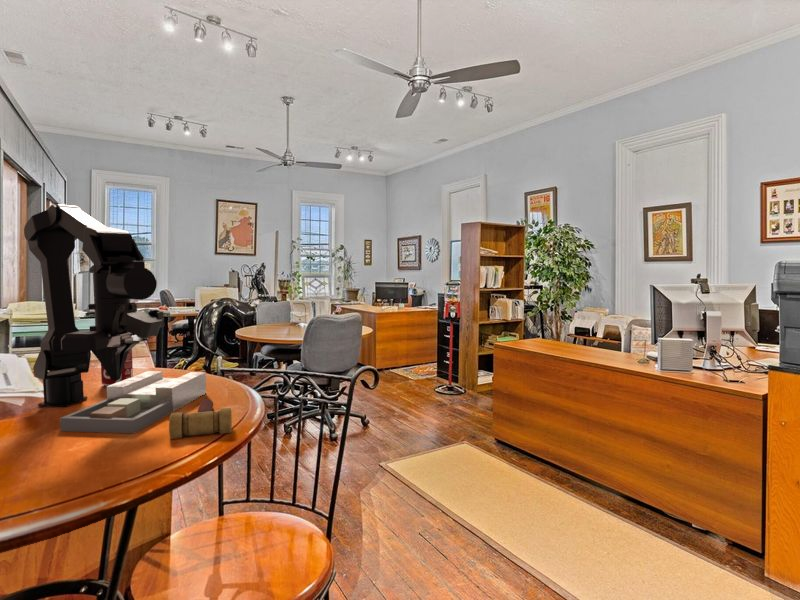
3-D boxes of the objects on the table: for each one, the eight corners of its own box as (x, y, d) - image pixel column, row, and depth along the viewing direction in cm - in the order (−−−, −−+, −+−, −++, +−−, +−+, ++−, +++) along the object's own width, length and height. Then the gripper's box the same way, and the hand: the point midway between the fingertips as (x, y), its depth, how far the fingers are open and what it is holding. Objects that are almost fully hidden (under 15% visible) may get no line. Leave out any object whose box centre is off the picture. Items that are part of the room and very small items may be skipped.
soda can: (135, 380, 122) (133, 334, 121) (130, 386, 115) (128, 338, 114) (105, 382, 119) (103, 335, 118) (98, 389, 113) (96, 339, 112)
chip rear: (107, 416, 91) (107, 404, 90) (121, 410, 95) (121, 398, 94) (127, 417, 90) (127, 404, 90) (140, 410, 94) (140, 398, 94)
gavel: (181, 392, 99) (231, 388, 103) (182, 414, 99) (232, 409, 103) (168, 416, 80) (231, 410, 83) (169, 443, 80) (231, 436, 83)
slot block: (107, 410, 97) (106, 386, 96) (148, 392, 110) (148, 371, 110) (172, 412, 95) (171, 388, 95) (206, 393, 109) (205, 372, 109)
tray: (60, 431, 84) (59, 418, 84) (106, 410, 96) (106, 399, 96) (134, 433, 83) (134, 420, 83) (172, 412, 95) (171, 400, 95)
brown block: (105, 406, 89) (106, 419, 89) (89, 413, 85) (90, 426, 85) (125, 407, 88) (126, 420, 89) (110, 413, 84) (111, 427, 85)
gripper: (119, 301, 77) (123, 394, 78) (180, 294, 96) (183, 369, 97) (56, 301, 78) (61, 393, 79) (129, 294, 97) (132, 369, 98)
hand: (115, 380), depth 88 cm, fingers closed
